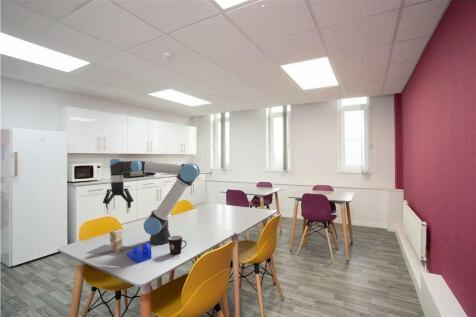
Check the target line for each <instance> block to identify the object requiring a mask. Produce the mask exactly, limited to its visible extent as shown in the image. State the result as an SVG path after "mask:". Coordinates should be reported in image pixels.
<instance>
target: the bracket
mask: <svg viewBox="0 0 476 317" xmlns="http://www.w3.org/2000/svg"><path fill="white" fill-rule="evenodd" d="M126 257H127V258H129V259H130V260H131V261H133V262H135V263H136V264H140V263H143V262H146V261H150V260H151V259H152V246H151V244H150V242H146V243H143V244H142V249H141V247H140V246H139V245H136V246H132V250H129V251H127V253H126Z"/></svg>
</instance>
